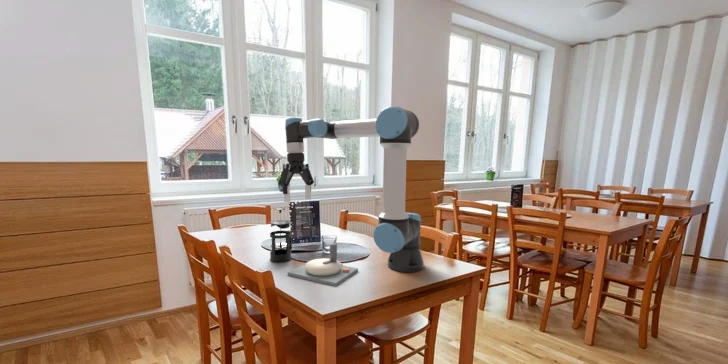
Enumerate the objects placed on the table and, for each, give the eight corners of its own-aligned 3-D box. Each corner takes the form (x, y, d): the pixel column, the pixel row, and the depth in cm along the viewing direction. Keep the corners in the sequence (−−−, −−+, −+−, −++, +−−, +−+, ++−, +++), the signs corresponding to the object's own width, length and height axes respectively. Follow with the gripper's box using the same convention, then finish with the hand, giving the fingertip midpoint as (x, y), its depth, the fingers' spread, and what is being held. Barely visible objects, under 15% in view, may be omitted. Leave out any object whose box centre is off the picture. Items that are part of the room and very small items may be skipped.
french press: (280, 264, 140) (279, 211, 138) (264, 260, 144) (263, 209, 142) (298, 257, 150) (298, 207, 148) (282, 253, 155) (282, 205, 152)
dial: (347, 266, 134) (347, 244, 133) (328, 278, 121) (328, 254, 120) (318, 261, 140) (318, 240, 139) (298, 271, 127) (298, 248, 127)
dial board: (358, 270, 134) (358, 265, 134) (335, 286, 118) (335, 280, 118) (313, 262, 144) (313, 257, 143) (287, 275, 128) (287, 269, 128)
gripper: (307, 154, 159) (310, 198, 159) (268, 152, 138) (271, 203, 138) (319, 153, 155) (322, 198, 156) (281, 150, 134) (283, 202, 134)
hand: (298, 200), depth 147 cm, fingers open, 13 cm apart
